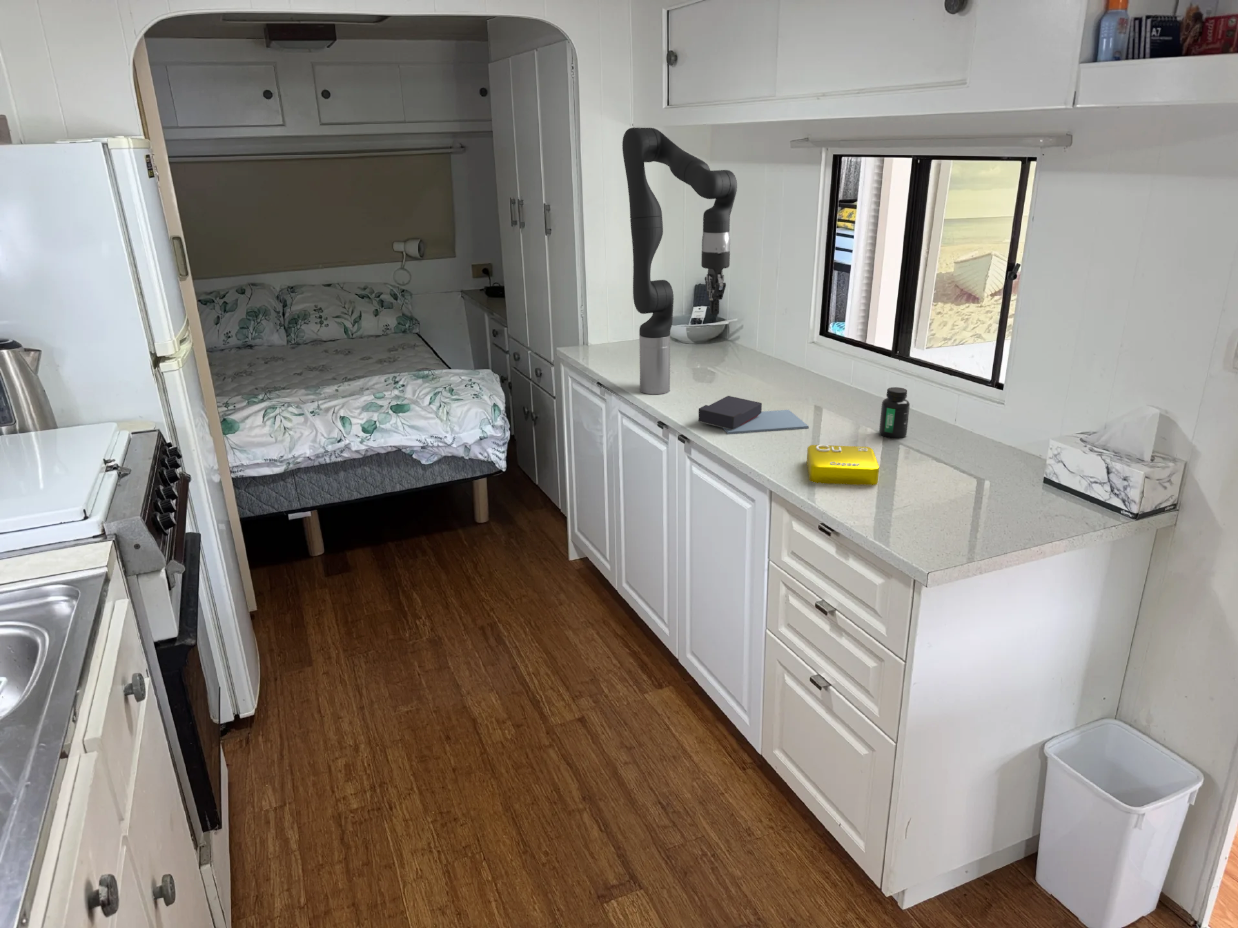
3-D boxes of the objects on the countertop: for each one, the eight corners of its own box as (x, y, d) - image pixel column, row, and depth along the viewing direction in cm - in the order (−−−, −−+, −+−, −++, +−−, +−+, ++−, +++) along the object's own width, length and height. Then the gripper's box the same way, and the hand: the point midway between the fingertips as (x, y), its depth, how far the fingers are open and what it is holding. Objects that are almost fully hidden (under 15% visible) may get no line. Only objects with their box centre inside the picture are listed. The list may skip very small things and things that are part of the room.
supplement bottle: (890, 440, 216) (895, 394, 212) (873, 432, 222) (877, 387, 218) (912, 436, 219) (917, 391, 214) (894, 429, 225) (899, 384, 220)
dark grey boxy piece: (727, 407, 241) (697, 423, 230) (728, 393, 239) (697, 408, 228) (761, 415, 234) (732, 432, 224) (762, 400, 233) (733, 416, 222)
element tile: (809, 484, 191) (810, 464, 189) (805, 461, 205) (807, 442, 203) (879, 487, 189) (881, 467, 187) (870, 463, 203) (872, 444, 201)
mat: (712, 417, 237) (712, 414, 237) (788, 411, 240) (788, 409, 240) (727, 434, 223) (728, 431, 223) (808, 428, 226) (808, 426, 226)
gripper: (695, 247, 234) (694, 310, 240) (708, 253, 222) (707, 319, 228) (722, 246, 235) (720, 309, 241) (736, 251, 223) (734, 318, 229)
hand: (714, 314), depth 234 cm, fingers closed
